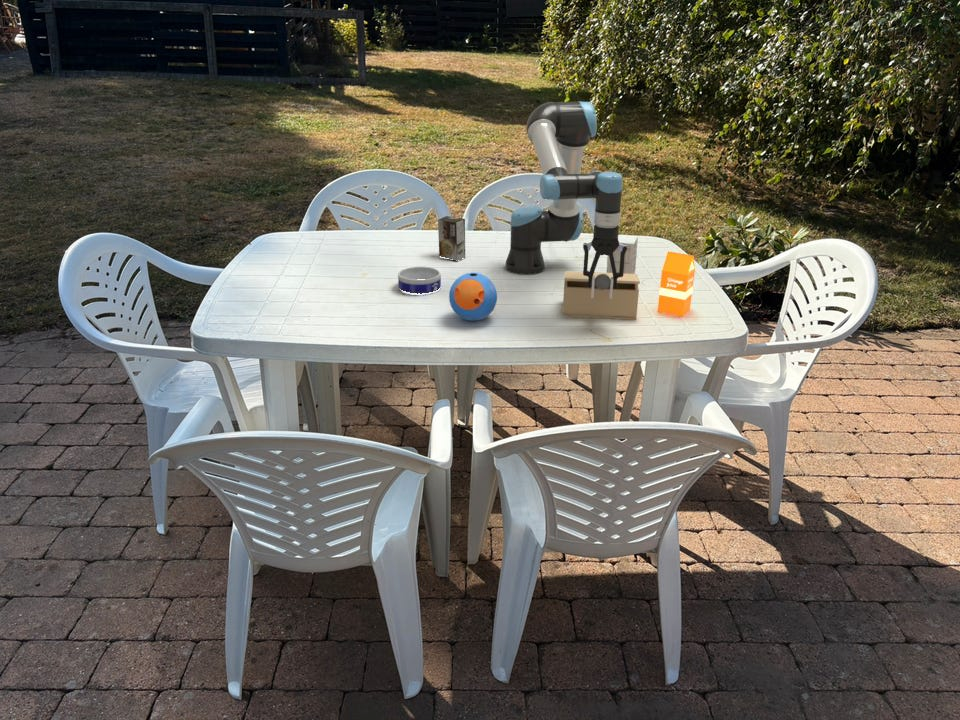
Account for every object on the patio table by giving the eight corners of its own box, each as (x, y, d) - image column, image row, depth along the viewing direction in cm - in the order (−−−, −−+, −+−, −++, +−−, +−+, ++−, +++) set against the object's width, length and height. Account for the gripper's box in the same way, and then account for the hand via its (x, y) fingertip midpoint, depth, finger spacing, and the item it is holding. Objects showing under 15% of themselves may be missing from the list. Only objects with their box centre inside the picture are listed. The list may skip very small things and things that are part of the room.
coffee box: (466, 258, 311) (465, 218, 304) (457, 262, 306) (456, 222, 299) (447, 254, 315) (446, 215, 308) (438, 258, 310) (437, 219, 303)
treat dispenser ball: (500, 312, 258) (501, 268, 252) (491, 329, 245) (491, 284, 238) (456, 308, 262) (455, 265, 255) (444, 325, 248) (443, 280, 241)
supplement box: (635, 280, 287) (639, 236, 280) (631, 288, 279) (635, 243, 272) (609, 277, 290) (612, 234, 282) (604, 285, 282) (608, 241, 275)
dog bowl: (417, 278, 289) (416, 263, 286) (449, 287, 281) (449, 271, 278) (389, 290, 278) (389, 274, 275) (423, 299, 270) (422, 283, 267)
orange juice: (682, 316, 255) (689, 258, 246) (657, 311, 259) (663, 254, 250) (690, 309, 261) (697, 252, 252) (665, 304, 265) (671, 248, 256)
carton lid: (563, 289, 241) (564, 273, 240) (565, 276, 264) (565, 261, 262) (641, 293, 239) (642, 277, 237) (636, 279, 261) (637, 264, 260)
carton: (562, 316, 255) (563, 287, 251) (563, 300, 268) (565, 273, 263) (636, 319, 252) (638, 290, 248) (634, 304, 265) (636, 276, 261)
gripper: (576, 227, 232) (572, 299, 242) (637, 229, 230) (630, 302, 240) (576, 220, 239) (572, 291, 249) (636, 222, 237) (629, 294, 246)
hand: (601, 296), depth 244 cm, fingers closed on carton lid, 5 cm apart
